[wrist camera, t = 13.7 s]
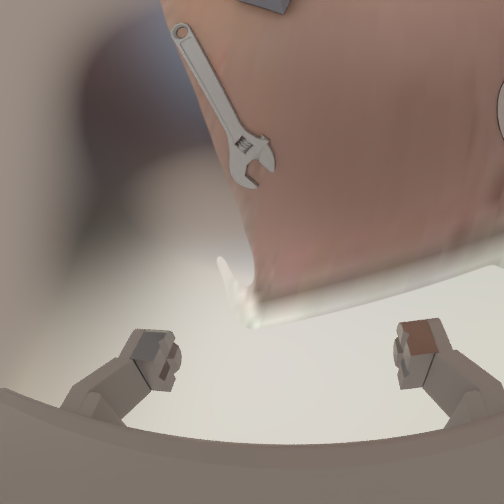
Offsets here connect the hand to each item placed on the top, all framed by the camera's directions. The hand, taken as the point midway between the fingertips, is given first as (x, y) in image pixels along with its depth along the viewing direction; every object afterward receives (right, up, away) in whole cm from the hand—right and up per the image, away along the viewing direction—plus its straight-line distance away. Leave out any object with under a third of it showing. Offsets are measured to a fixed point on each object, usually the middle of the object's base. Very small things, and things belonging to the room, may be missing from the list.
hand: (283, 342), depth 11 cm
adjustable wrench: (-4, +23, +28) cm, 36 cm away
